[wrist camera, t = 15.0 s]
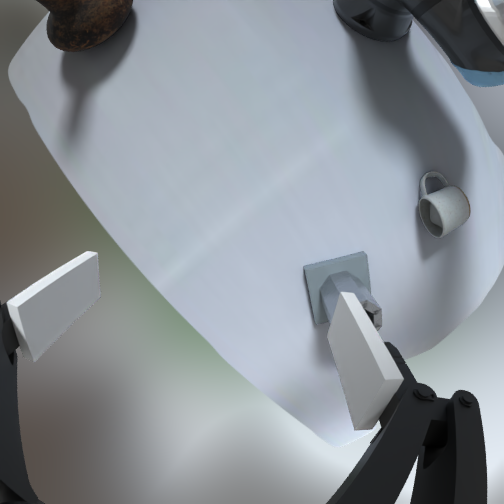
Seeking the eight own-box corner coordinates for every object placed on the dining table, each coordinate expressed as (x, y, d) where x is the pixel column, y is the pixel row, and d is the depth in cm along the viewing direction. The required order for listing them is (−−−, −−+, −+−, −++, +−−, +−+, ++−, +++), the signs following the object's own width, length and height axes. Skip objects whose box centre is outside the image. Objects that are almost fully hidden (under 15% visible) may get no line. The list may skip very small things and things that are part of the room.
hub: (357, 267, 45) (380, 295, 35) (361, 303, 47) (382, 337, 37) (317, 277, 46) (330, 309, 36) (323, 313, 48) (336, 350, 38)
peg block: (363, 251, 46) (379, 267, 39) (368, 304, 50) (383, 326, 42) (303, 266, 48) (310, 285, 40) (314, 319, 51) (321, 343, 43)
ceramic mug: (454, 216, 43) (477, 225, 36) (424, 233, 45) (445, 244, 37) (440, 165, 41) (464, 166, 34) (408, 179, 42) (430, 182, 35)
